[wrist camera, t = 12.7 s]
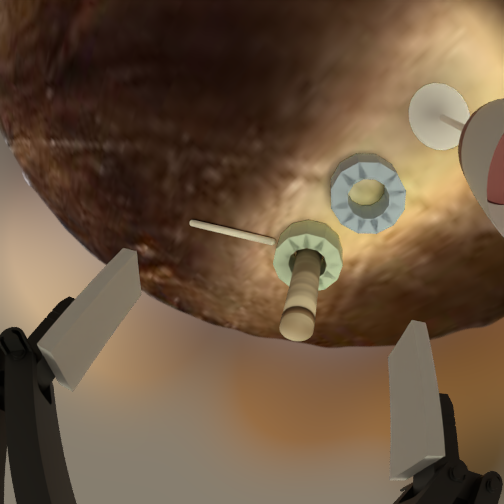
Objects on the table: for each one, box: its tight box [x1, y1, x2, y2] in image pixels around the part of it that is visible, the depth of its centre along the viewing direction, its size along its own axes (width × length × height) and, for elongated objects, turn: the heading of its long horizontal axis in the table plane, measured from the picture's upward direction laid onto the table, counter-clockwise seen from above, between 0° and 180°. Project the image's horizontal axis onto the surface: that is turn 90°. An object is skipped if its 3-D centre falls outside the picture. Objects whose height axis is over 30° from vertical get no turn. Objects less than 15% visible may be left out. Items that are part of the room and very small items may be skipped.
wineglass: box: [409, 83, 504, 237], centre depth 21 cm, size 9×10×23 cm
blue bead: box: [331, 154, 406, 234], centre depth 37 cm, size 9×9×4 cm
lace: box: [190, 220, 275, 245], centre depth 46 cm, size 1×13×1 cm, turn 81°
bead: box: [273, 220, 343, 290], centre depth 43 cm, size 9×9×4 cm
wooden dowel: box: [280, 248, 322, 341], centre depth 38 cm, size 4×4×16 cm
